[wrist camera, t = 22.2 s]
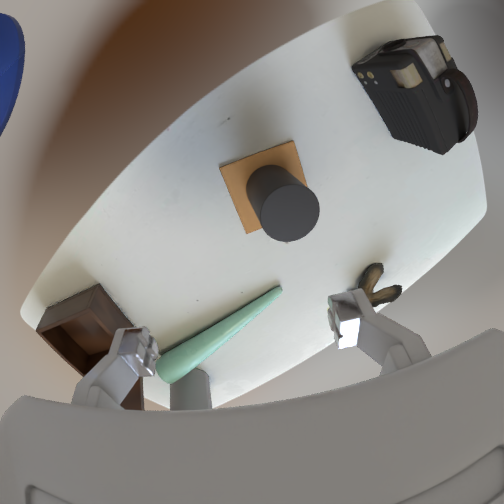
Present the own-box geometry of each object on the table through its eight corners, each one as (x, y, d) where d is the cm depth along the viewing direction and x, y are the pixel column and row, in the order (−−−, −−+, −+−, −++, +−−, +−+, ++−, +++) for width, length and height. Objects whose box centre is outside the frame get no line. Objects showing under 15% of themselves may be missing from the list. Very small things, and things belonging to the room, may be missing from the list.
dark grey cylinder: (237, 200, 35) (249, 229, 28) (259, 156, 33) (279, 173, 25) (279, 217, 38) (300, 249, 30) (301, 177, 35) (330, 200, 28)
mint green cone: (298, 317, 41) (176, 388, 46) (289, 294, 46) (176, 365, 51) (280, 298, 38) (154, 376, 43) (271, 275, 43) (156, 353, 48)
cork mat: (219, 167, 33) (219, 168, 33) (292, 140, 33) (293, 141, 33) (246, 232, 39) (246, 234, 38) (311, 207, 38) (312, 208, 38)
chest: (46, 308, 39) (35, 330, 34) (99, 283, 38) (89, 307, 33) (89, 355, 46) (84, 377, 41) (144, 338, 45) (141, 363, 41)
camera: (391, 34, 26) (466, 24, 13) (431, 107, 33) (504, 126, 20) (344, 63, 28) (420, 54, 16) (392, 142, 35) (467, 170, 22)
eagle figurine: (369, 311, 51) (402, 282, 46) (367, 331, 44) (406, 300, 40) (343, 286, 51) (376, 255, 47) (339, 303, 45) (377, 269, 41)
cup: (176, 390, 55) (177, 428, 47) (165, 370, 51) (164, 411, 42) (212, 385, 56) (217, 424, 47) (204, 365, 52) (208, 407, 43)
